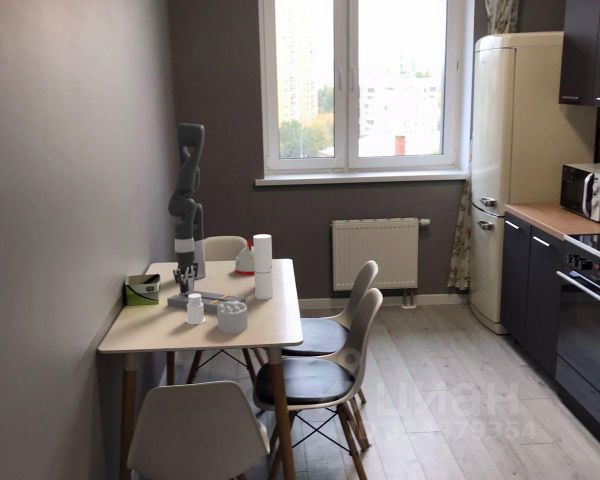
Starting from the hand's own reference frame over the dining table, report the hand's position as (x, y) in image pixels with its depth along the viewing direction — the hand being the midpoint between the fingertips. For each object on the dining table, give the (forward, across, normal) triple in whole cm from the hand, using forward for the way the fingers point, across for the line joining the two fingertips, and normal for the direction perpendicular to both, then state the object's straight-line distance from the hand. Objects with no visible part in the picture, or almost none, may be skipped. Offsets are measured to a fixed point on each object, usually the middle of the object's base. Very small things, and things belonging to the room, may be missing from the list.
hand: (187, 290), depth 270 cm
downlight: (+5, +17, +16) cm, 24 cm away
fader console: (+5, 0, +9) cm, 10 cm away
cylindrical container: (+5, -19, +24) cm, 31 cm away
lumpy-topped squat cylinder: (+5, +17, +32) cm, 37 cm away
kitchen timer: (+5, -51, -2) cm, 51 cm away
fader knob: (+5, 0, 0) cm, 5 cm away
